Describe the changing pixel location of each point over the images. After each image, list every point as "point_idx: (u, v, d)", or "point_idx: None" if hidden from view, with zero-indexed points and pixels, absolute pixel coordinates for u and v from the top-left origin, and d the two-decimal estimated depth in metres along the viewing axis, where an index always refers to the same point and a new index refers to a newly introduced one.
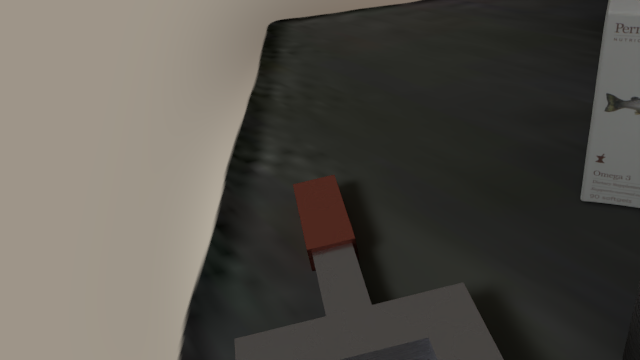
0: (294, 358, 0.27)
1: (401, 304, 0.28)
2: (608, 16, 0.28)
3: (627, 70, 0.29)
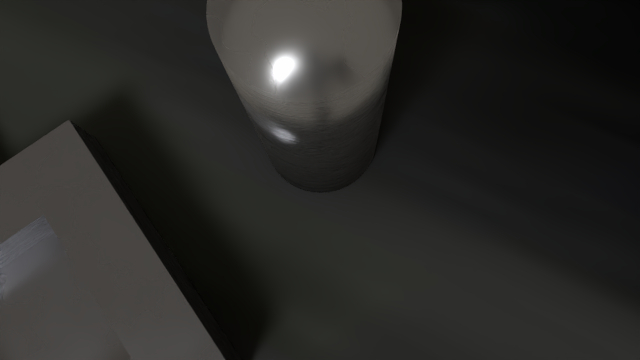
0: None
1: (0, 177, 0.22)
2: None
3: None
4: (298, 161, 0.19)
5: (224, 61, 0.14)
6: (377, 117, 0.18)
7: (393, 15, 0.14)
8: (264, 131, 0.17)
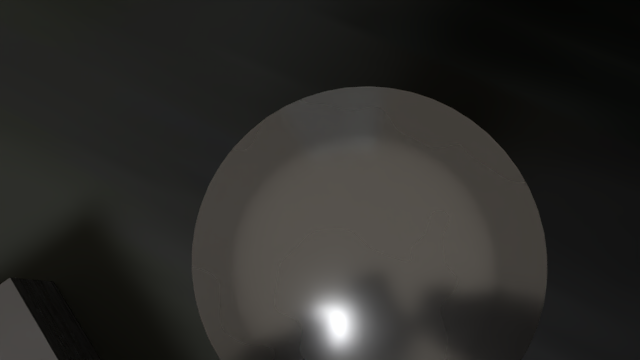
0: None
1: None
2: None
3: None
4: None
5: None
6: None
7: (532, 274, 0.07)
8: None
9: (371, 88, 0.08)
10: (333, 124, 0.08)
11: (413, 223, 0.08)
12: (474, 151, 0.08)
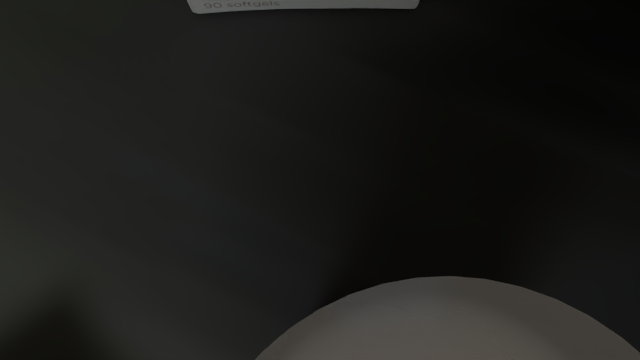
0: None
1: None
2: None
3: None
4: None
5: None
6: None
7: None
8: None
9: (457, 279, 0.05)
10: (398, 341, 0.05)
11: None
12: None
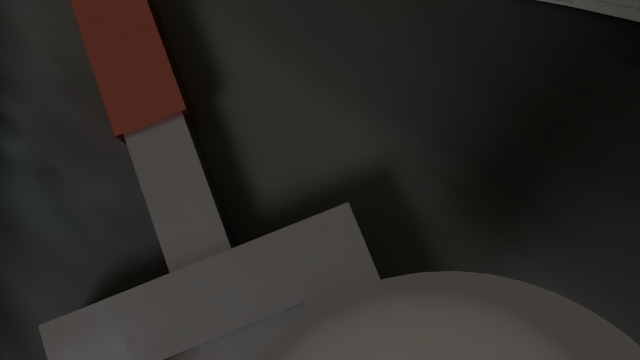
0: (130, 351, 0.20)
1: (266, 247, 0.20)
2: None
3: None
4: None
5: None
6: None
7: None
8: None
9: (459, 274, 0.05)
10: (400, 335, 0.05)
11: None
12: None
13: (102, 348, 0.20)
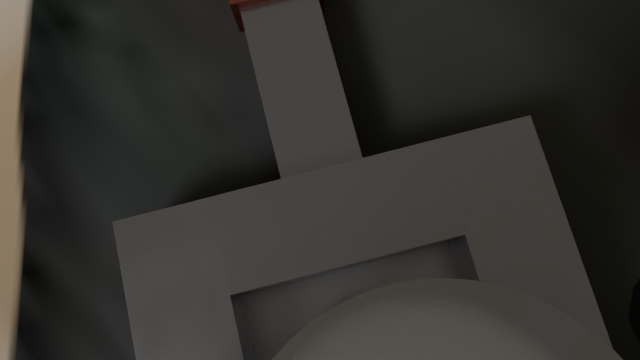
0: (228, 269, 0.15)
1: (417, 159, 0.16)
2: None
3: None
4: None
5: None
6: None
7: None
8: None
9: (453, 280, 0.06)
10: (402, 332, 0.06)
11: None
12: None
13: (192, 260, 0.15)
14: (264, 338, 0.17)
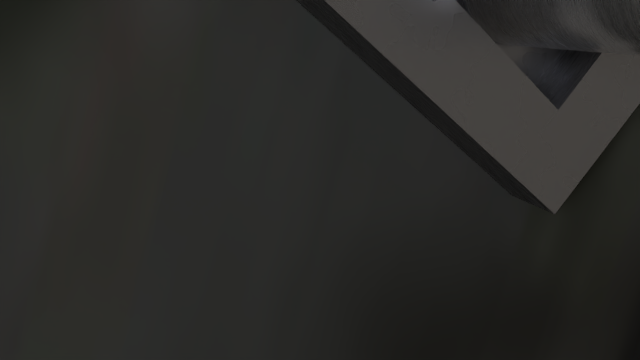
0: None
1: None
2: None
3: None
4: None
5: None
6: None
7: None
8: None
9: None
10: None
11: None
12: None
13: None
14: None
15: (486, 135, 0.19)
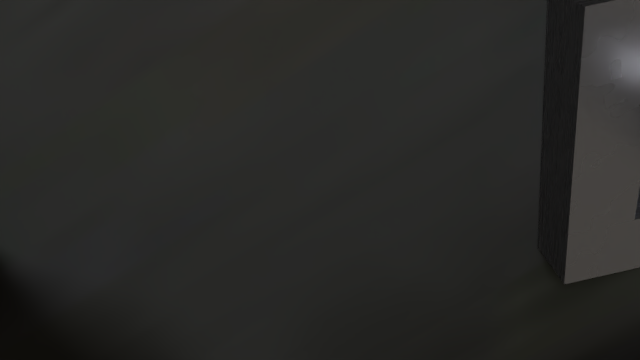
0: None
1: None
2: None
3: None
4: None
5: None
6: None
7: None
8: None
9: None
10: None
11: None
12: None
13: None
14: None
15: (580, 198, 0.22)
